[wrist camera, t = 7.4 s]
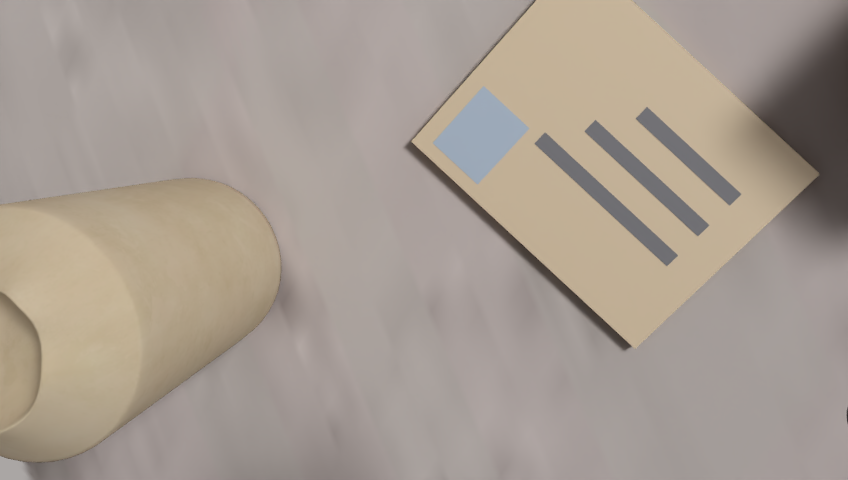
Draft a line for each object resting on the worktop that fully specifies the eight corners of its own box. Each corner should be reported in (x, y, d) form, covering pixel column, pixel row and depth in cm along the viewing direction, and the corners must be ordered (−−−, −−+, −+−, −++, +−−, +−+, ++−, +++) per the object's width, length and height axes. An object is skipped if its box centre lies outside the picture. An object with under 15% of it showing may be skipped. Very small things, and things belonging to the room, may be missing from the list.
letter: (815, 173, 20) (820, 174, 20) (633, 346, 22) (635, 349, 21) (578, -46, 20) (579, -49, 20) (412, 141, 22) (411, 141, 21)
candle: (89, 252, 24) (-218, 339, 14) (202, 140, 23) (-46, 150, 13) (201, 378, 24) (-28, 550, 14) (319, 273, 23) (159, 381, 13)
